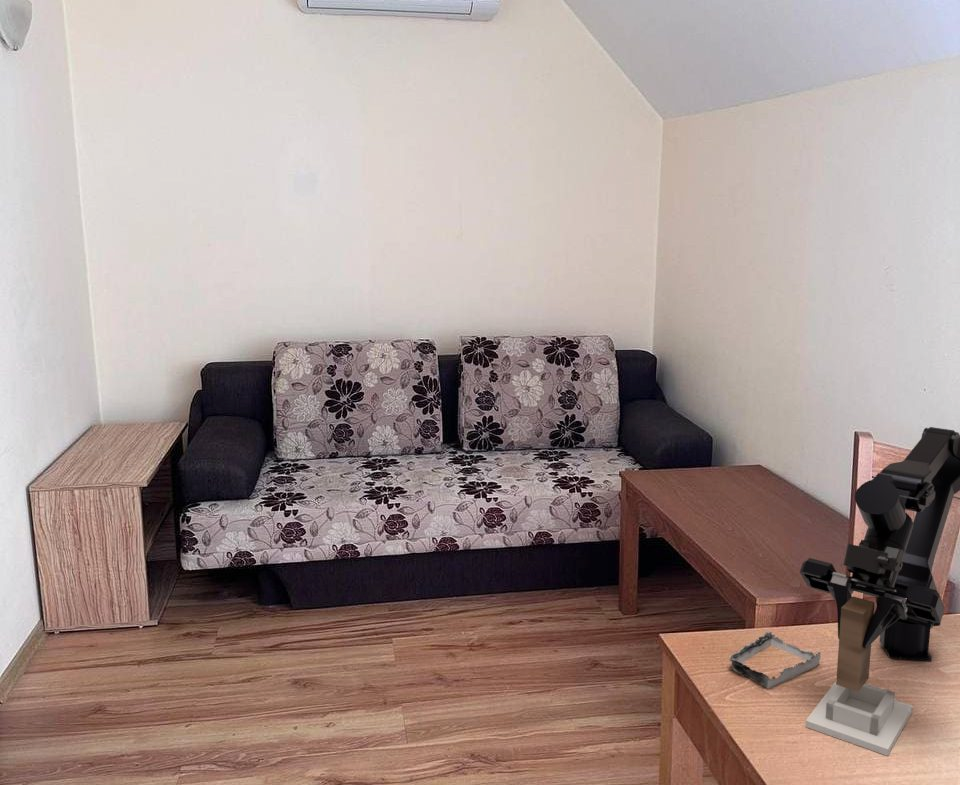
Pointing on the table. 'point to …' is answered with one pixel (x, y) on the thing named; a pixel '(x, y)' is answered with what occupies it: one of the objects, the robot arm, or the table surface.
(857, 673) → the walnut block
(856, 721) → the white recessed tray
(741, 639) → the table surface
